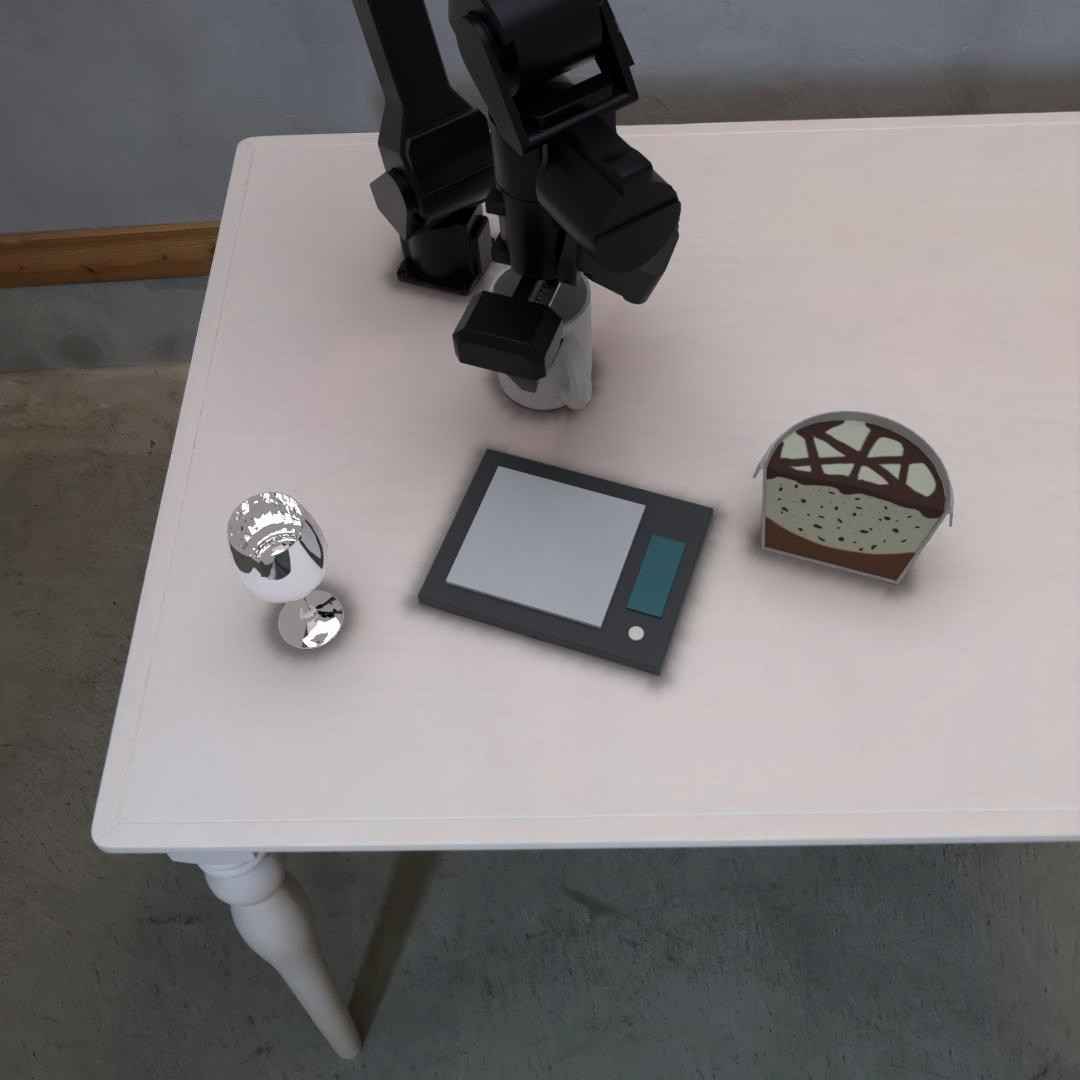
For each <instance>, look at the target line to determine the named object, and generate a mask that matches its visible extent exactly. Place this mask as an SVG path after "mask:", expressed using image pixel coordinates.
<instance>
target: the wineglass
mask: <svg viewBox="0 0 1080 1080" xmlns="http://www.w3.org/2000/svg"><path fill="white" fill-rule="evenodd" d="M226 539H227V540H226V541H227V548H228V554H229V559H230V562H231V566H232V569H233V571H234V573H235V575H236V577H237V579H238V580H239V582H240V583H241V584H242V586H243V587H244V588H245V589H246V590H247V591H248V592H249V593H251V594H252V595H253V596H255V597H256V598H258V599H260V600H262V601H265V602H269V603H275V604H284V606H283V608H281V611H280V613H279V617H278V631H279V633H280V636H281V637H282V639H283V640H284V641H285V642H286V643H287V644H288V645H290V646H291V647H294V648H296V649H297V648H298V649H302V650H312V649H317V648H320V647H323V646H325V645H327V644H329V643H330V642H331V641H332V640H334V639H335V638H336V636H337V635H338V634H339V633H340V631H341V630H342V627H343V624H344V618H345V614H344V608H343V605H342V604H341V602H340V601H339V600H338V598H336V597H335V596H334V594H333V595H332V594H331V593H330V592H327V591H323V590H316V589H317V588H318V587H319V585H320V584H321V582H322V581H323V579H324V577H325V576H326V573H327V570H328V567H329V557H330V556H329V548H328V543H327V539H326V537H325V534H324V531H323V530H322V528H321V526H320V525H319V524H318V522H317V521H316V519H315V518H314V516H313V515H312V514H311V512H309V511H308V510H307V508H306V507H305V506H304V505H303V504H302V503H300V502H299V501H298V500H297V499H296V498H294V497H292V496H291V495H289V494H287V493H283V492H280V491H278V492H276V491H268V492H267V491H266V492H260V493H258V494H254V495H252V496H250V497H248V498H246V499H245V500H243V501H242V502H240V504H239V505H238V506H236V508H235V509H234V510H233V511H232V513H231V514H230V516H229V518H228V522H227V525H226Z"/></svg>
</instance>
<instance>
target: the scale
mask: <svg viewBox="0 0 1080 1080" xmlns="http://www.w3.org/2000/svg"><path fill="white" fill-rule="evenodd" d="M713 515H714V508H713V507H709V506H706V505H703V504H698V503H695V502H691V501H688V500H683V499H680V498H676V497H672V496H668V495H665V494H660V493H657V492H653V491H651V490H646V489H642V488H639V487H633V486H631V485H628V484H627V485H626V484H624V483H618V482H616V481H612V480H609V479H604V478H601V477H598V476H593V475H589V474H586V473H582V472H578V471H574V470H571V469H567V468H563V467H559V466H556V465H552V464H548V463H545V462H541V461H537V460H533V459H529V458H525V457H521V456H517V455H515V454H511V453H507V452H504V451H499V450H496V449H492V448H486V450H485V452H484V454H483V457H481V460H480V462H479V465H478V466H477V469H476V471H475V473H474V475H473V477H472V479H471V481H470V484H469V486H468V488H467V489H466V492H465V494H464V496H463V498H462V501H461V503H460V505H459V507H458V509H457V511H456V514H455V516H454V518H453V520H452V522H451V524H450V526H449V528H448V530H447V532H446V535H445V537H444V539H443V541H442V544H441V545H440V547H439V550H438V552H437V554H436V556H435V559H434V560H433V563H432V564H431V567H430V569H429V571H428V573H427V575H426V577H425V579H424V582H423V584H422V586H421V588H420V590H419V592H418V594H417V599H418V602H419V603H420V604H422V605H426V606H429V607H432V608H435V609H439V610H442V611H446V612H449V613H452V614H455V615H458V616H461V617H465V618H469V619H471V620H474V621H475V620H476V621H479V622H482V623H485V624H488V625H492V626H494V627H495V626H496V627H497V628H501V629H506V630H508V631H510V632H511V631H512V632H515V633H517V634H522V635H525V636H527V637H532V638H535V639H538V640H541V641H544V642H548V643H551V644H555V645H558V646H561V647H564V648H568V649H571V650H575V651H578V652H580V653H584V654H588V655H591V656H594V657H597V658H600V659H603V660H607V661H611V662H614V663H617V664H620V665H624V666H627V667H630V668H633V669H636V670H637V669H638V670H641V671H644V672H647V673H650V674H653V675H657V676H659V675H661V673H662V669H663V666H664V664H665V663H664V662H665V660H666V657H667V654H668V652H669V648H670V645H671V642H672V640H673V636H674V633H675V630H676V627H677V624H678V622H679V618H680V615H681V612H682V610H683V607H684V604H685V599H686V597H687V594H688V591H689V588H690V585H691V582H692V579H693V576H694V573H695V571H696V568H697V564H698V561H699V558H700V554H701V552H702V549H703V546H704V543H705V540H706V537H707V534H708V531H709V529H710V525H711V522H712V519H713Z"/></svg>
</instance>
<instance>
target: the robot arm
mask: <svg viewBox="0 0 1080 1080" xmlns="http://www.w3.org/2000/svg"><path fill="white" fill-rule="evenodd" d="M351 3H352V5H353V8H354V11H355V14H356V18H357V21H358V23H359V25H360V29H361V32H362V35H363V38H364V41H365V44H366V46H367V50H368V53H369V55H370V57H371V58H370V59H371V61H372V64H373V67H374V71H375V73H376V76H377V78H378V79H377V80H378V82H379V84H380V87H381V91H382V94H383V97H384V100H385V103H384V107H383V113H382V117H381V123H380V128H379V131H378V132H379V133H378V138H377V146H378V150H379V153H380V158H381V161H382V163H383V167H384V171H385V172H383V173H382V174H380V175H379V176H378V177H377V178H375V179H374V180H373V181H371V182H370V183H369V187H370V190H371V193H372V197H373V199H374V202H375V205H376V208H377V210H378V211H379V212H380V213H381V214H382V216H383V217H384V218H385V219H386V221H387V222H388V223H389V224H390V226H392V228H393V229H394V230H395V231H396V232H397V234H398V236H399V241H400V247H401V251H402V255H403V256H402V257H403V260H402V261H401V262H400V265H399V267H398V268H397V270H396V277H397V279H398V280H399V281H402V282H407V283H411V284H416V285H419V286H423V287H427V288H433V289H436V290H440V291H445V292H449V293H453V294H456V295H457V294H458V295H462V296H467V295H469V294H470V293H471V292H472V290H473V288H474V286H475V285H476V282H477V281H478V279H479V277H480V276H482V275H483V274H484V272H485V270H486V268H487V266H488V264H489V263H490V261H491V262H492V263H498V264H501V265H505V266H511V270H512V271H514V272H515V273H517V274H518V275H520V276H522V277H521V279H520V281H519V283H518V285H517V287H516V289H515V291H514V293H513V295H512V297H510V296H505V295H501V294H497V293H493V292H489V290H484V289H483V290H481V291H480V292H477V293H476V294H475V295H473V296H471V298H470V299H469V301H468V303H467V305H466V307H465V309H464V311H463V313H462V315H461V316H460V319H459V321H458V323H457V324H456V326H455V328H454V330H453V332H452V333H451V337H452V342H453V343H452V344H453V350H454V355H455V357H456V358H457V360H458V362H459V364H464V365H468V366H472V367H476V368H480V369H484V370H489V371H492V372H496V373H498V372H499V373H503V374H506V375H507V376H508V377H509V378H510V379H511V380H512V381H513V382H514V383H515V384H516V385H517V386H518V387H519V388H520V389H521V390H523V391H527V392H531V393H535V392H536V390H537V388H538V383H539V379H542V378H544V377H546V375H547V373H548V371H549V369H550V368H551V366H552V364H553V362H554V360H555V358H556V355H557V353H558V351H559V349H560V347H561V344H562V342H563V340H564V339H561V337H562V332H563V320H562V318H561V317H560V316H559V315H558V314H557V313H556V312H555V311H554V310H552V309H551V308H550V306H551V304H552V301H553V299H554V297H555V295H556V293H557V291H558V289H559V287H560V285H561V283H563V284H568V285H572V286H577V285H578V282H579V280H580V278H581V272H583V273H584V275H585V276H586V278H587V280H588V281H591V282H593V283H595V284H597V285H599V286H601V287H602V288H605V289H607V290H609V291H611V292H612V293H615V294H617V295H619V296H620V297H622V299H623V300H624V301H625V302H628V303H630V304H633V305H643V304H645V303H647V301H648V300H649V298H650V296H651V295H652V293H653V292H654V290H655V288H656V287H657V285H658V284H659V282H660V280H661V279H662V277H663V275H664V274H665V273H666V270H667V268H668V266H669V263H670V261H671V259H672V256H673V253H674V252H675V248H676V246H677V244H678V242H679V238H680V232H679V229H680V225H679V223H680V220H681V213H682V203H681V201H680V199H679V196H678V194H677V193H678V192H677V191H676V190H675V189H674V188H673V186H672V185H671V184H669V182H668V181H666V180H665V179H664V178H663V177H662V176H661V175H660V174H659V173H658V172H657V171H656V170H655V169H654V166H653V163H652V161H650V160H649V159H648V158H647V157H646V156H645V155H644V154H643V153H642V152H640V151H639V150H638V149H636V148H635V147H633V146H631V145H630V144H629V143H628V142H626V140H624V138H622V137H621V135H619V133H618V132H617V112H618V111H621V110H623V109H625V108H627V107H629V106H631V105H634V104H636V103H638V102H639V100H640V96H639V92H638V90H637V89H638V88H637V87H636V83H635V80H634V77H633V74H632V70H631V68H632V67H634V66H635V61H634V59H633V56H632V54H631V51H630V49H629V47H628V44H627V42H626V40H625V38H624V35H623V33H622V31H621V28H620V26H619V23H618V21H617V19H616V15H615V14H614V11H613V9H612V7H611V4H610V2H609V0H448V2H447V3H448V11H447V13H448V14H447V15H448V16H447V17H448V19H447V20H448V23H449V25H450V27H451V29H452V31H453V33H454V35H455V39H456V44H457V48H458V51H459V54H460V58H461V59H462V61H463V63H464V66H465V68H466V70H467V72H468V73H469V76H470V78H471V79H472V82H473V83H474V85H475V87H476V89H477V91H478V93H479V95H480V96H481V98H482V101H483V102H484V104H485V106H486V107H487V116H488V117H487V116H486V115H485V114H484V113H483V112H482V110H480V109H479V108H478V107H474V106H472V105H471V104H470V103H469V102H468V100H466V99H465V98H464V97H463V96H462V95H461V94H459V92H457V91H456V90H455V89H454V88H453V87H452V86H451V83H450V80H449V78H448V74H447V71H446V67H445V64H444V61H443V58H442V54H441V51H440V48H439V44H438V41H437V37H436V35H435V31H434V28H433V24H432V21H431V19H430V14H429V12H428V9H427V4H426V2H425V0H351ZM592 61H595V63H596V65H597V67H598V69H599V71H600V72H599V73H597V74H595V75H592V76H591V77H588V78H586V79H584V80H581V81H580V82H578V83H574V82H573V81H572V80H571V79H570V78H569V77H568V76H567V75H566V74H565V73H568V72H570V71H572V70H575V69H577V68H579V67H581V66H583V65H586V64H588V63H590V62H592ZM483 204H484V207H485V213H486V214H490V215H494V216H498V224H499V233H498V235H497V236H496V238H494V236H492V233H491V223H490V218H489V217H488V216H487V215H484V209H483ZM542 287H543V288H542ZM540 291H541V292H540ZM536 300H537V301H536Z"/></svg>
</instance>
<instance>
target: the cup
mask: <svg viewBox="0 0 1080 1080" xmlns="http://www.w3.org/2000/svg"><path fill="white" fill-rule="evenodd" d="M521 277H522V276H520V275H518V274H517V273H515V272H514V271H512V270H511V266H509V265H506V266H505V267H504V268H503V269H502V270H501V271H500V272H499V273H497V274H496V275H495V277H494V279H493V280H492V282H491V284H490V286H489V290H488V292H493V293H497V294H501V295H505V296H510V297H512V295H513V293H514V291H515V289H516V287H517V285H518V283H519V281H520V279H521ZM542 288H543V287H542ZM540 292H541V291H540ZM536 301H537V300H536ZM550 308H551V309H552V310H554V311H555V312H556V313H557V314H558V315H559V316H560V317H561V318H562V320H563V332H562V337H561V339H564V340H563V342H562V344H561V347H560V349H559V351H558V353H557V355H556V358H555V360H554V362H553V364H552V366H551V368H550V369H549V371H548V373H547V375H546V377H544V378H542V379H539V383H538V388H537V390H536V392H535V393H531V392H527V391H523V390H521V389H520V388H519V387H518V386H517V385H516V384H515V383H514V382H513V381H512V380H511V379H510V378H509V377H508V376H507V375H506V374H503V373H499V372H497V376H498V381H499V384H500V386H501V388H502V390H503V392H504V393H505V394H506V396H507V397H509V398H510V400H512V401H514V402H515V403H518V404H519V405H520V406H522V407H525V408H528V409H532V410H537V411H538V410H539V411H548V410H555V409H556V410H557V409H560V408H562V407H565V406H567V407H568V408H569V409H572V410H583V408H585V407H586V405H588V403H589V402H590V401H591V399H592V394H593V383H592V371H593V370H592V369H593V341H592V340H593V339H592V336H593V333H592V331H593V330H592V290H591V285H590V282H589V279H588V278H587V277H586V276H585V275H584V273H583V272H581V278H580V280H579V282H578V285H577V286H572V285H568V284H563V283H561V285H560V287H559V289H558V291H557V293H556V295H555V297H554V299H553V301H552V304H551V306H550Z"/></svg>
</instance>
